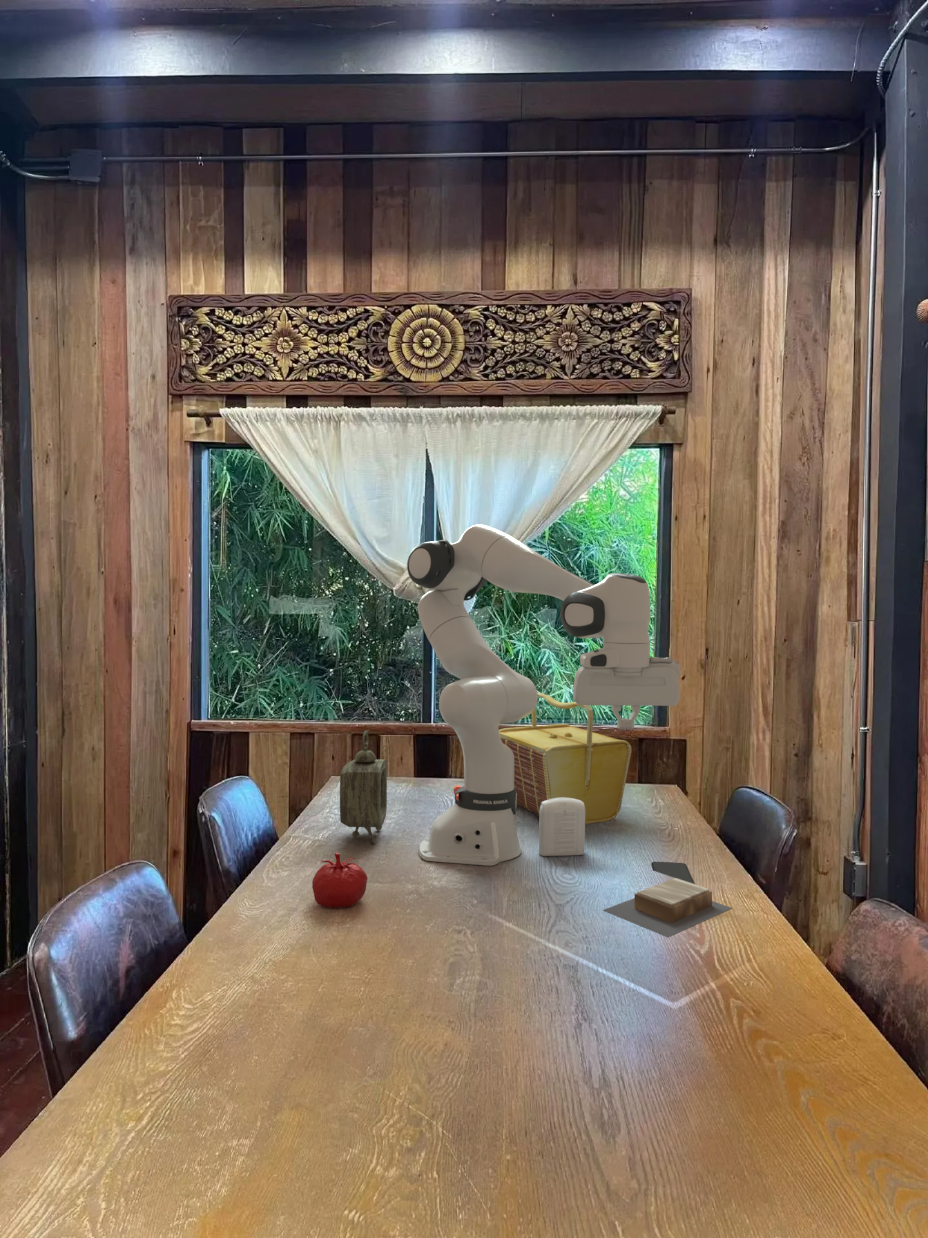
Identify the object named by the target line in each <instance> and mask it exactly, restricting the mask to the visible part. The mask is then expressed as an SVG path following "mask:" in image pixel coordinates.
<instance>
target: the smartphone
mask: <svg viewBox="0 0 928 1238" xmlns="http://www.w3.org/2000/svg"><path fill="white" fill-rule="evenodd" d="M650 866H651V868H652V871H653V872H656V873H659V874H662V875H665V876H667V877H671V878H672V879H674V878H678V879H681V880H683V881H686V882H689V883H692V884H695V885H696V883H695V881H694V879H693V877H692V875H691V873H690V871H689V867H688V866H687V863H684V862H674V861H673V862H669V861H652V862H651V865H650ZM658 884H660V883H659V882H658V883H657V885H658Z"/></svg>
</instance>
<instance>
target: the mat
mask: <svg viewBox="0 0 928 1238" xmlns="http://www.w3.org/2000/svg"><path fill="white" fill-rule="evenodd" d="M729 910H733V908H732V907H730V906H728V905H725V904H722V903H719V902H716V901H713V900H712V906H710V907H707V908H705V909H703V910H700V911H698V912H696V913H694V914H691V915H689V916H687V917H684V918H682V919H680V920H677V921H675V922H673V923H670V922H668V921H665V920H663V919H660V918H658V917H655V916H653V915H650V914H648V913H645V912H643V911H640V910H638V909H635V897H634V898H631V899H628V900H626V901H623V902H621V903H617V904H615V905H613V906H612V905H611V906H610V907H607V908H605V909H602V911H603V912H606V913H608V914H609V915H610V914H611V915H613V916H616V917H618V918H621V919H623V920H625V921H627V922H630V923H631V924H634V925H638V926H640V927H642V928H645V929H646V930H649V931H651V932H654V933H657V934H659V935H661V936H664V937H666V938H671V937H672V936H675V935H676V934H679V933H681V932H683V931H686V930H687V929H690V928H692V927H694V926H697V925H699V924H701V923H703V922H705V921H707V920H709V919H712V918H714V917H716V916H718V915H721V914H723V913H726V912H727V911H729Z"/></svg>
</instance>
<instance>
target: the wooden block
mask: <svg viewBox="0 0 928 1238" xmlns="http://www.w3.org/2000/svg"><path fill="white" fill-rule="evenodd" d="M634 898H635V909H638V910H640V911H643V912H645V913H648V914H650V915H653V916H655V917H658V918H660V919H663V920H665V921H668V922H670V923H673V922H675V921H677V920H680V919H682V918H684V917H687V916H689V915H691V914H694V913H696V912H698V911H700V910H703V909H705V908H707V907H710V906H712V901H713V891H712V890H710V889H709V888H707V887H704V886H701V885H697V884H696V883H695V884H692V883H689V882H686V881H683V880H681V879H678V878H671V879H668V880H667V881H663V882H661V883H659V884H658V883H657V884H655V885H652V886H650V887H647V888H645V889H642V890H639V891H637V892H636V893H634Z"/></svg>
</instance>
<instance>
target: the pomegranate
mask: <svg viewBox="0 0 928 1238" xmlns="http://www.w3.org/2000/svg"><path fill="white" fill-rule="evenodd" d="M334 857H335V862H333V861H331V859H329V860H328V859H326V860H321V862H322V863H325V864H323V865H322V866H321V867H320V868H319V869H318V870H317V871H316V872H315V874H314V876H313V878H312V883H311V884H312V892H313V897H314V900H315V902H316V903H317V905H318V906H321V907H322V908H328V909H329V908H330V909H340V908H341V909H347V908H350V907H352V906H354V905H356V904H358V903H359V902H360V901H361V900H362V899H363V897H364V895H365V893H366V890H367V883H368V875H367V873H366V871H365V870H364V869H363V868H362V867H361V866H360V865H359V864H356V863H355V862H349V861H350V860H356V859H357V858H356V857H354V858H353V857H351V858H348V859H345V860H344V861H343V862H342V861H341V853H339V852H334Z"/></svg>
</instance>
